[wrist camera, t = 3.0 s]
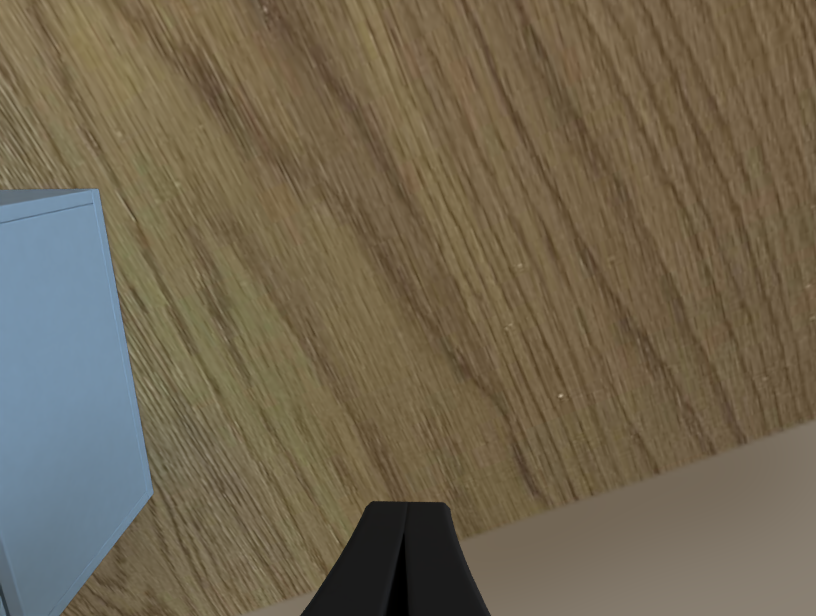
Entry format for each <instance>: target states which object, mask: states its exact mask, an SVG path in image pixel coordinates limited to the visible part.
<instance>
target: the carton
mask: <svg viewBox="0 0 816 616" xmlns="http://www.w3.org/2000/svg"><path fill="white" fill-rule="evenodd" d="M153 493H154V492H153V487H152V481H151V476H150V470H149V465H148V459H147V454H146V448H145V442H144V437H143V431H142V426H141V420H140V415H139V409H138V404H137V398H136V393H135V387H134V382H133V376H132V371H131V365H130V360H129V354H128V349H127V343H126V338H125V332H124V327H123V321H122V316H121V310H120V305H119V299H118V294H117V288H116V283H115V277H114V272H113V266H112V261H111V255H110V250H109V244H108V239H107V233H106V227H105V222H104V216H103V211H102V205H101V200H100V194H99V190H98V189H33V190H0V596H1V599H2V603H3V606H4V609H5V613H6V616H60V614H61V613H62V612H63V610H64V609H65V608H66V607H67V605H68V604H69V603H70V601H71V600H72V599H73V597H74V596H75V595H76V594H77V592H78V591H79V590H80V588H81V587H82V586H83V584H84V583H85V582H86V581H87V579H88V578H89V577H90V575H91V574H92V573H93V571H94V570H95V569H96V568H97V566H98V565H99V564H100V562H101V561H102V560H103V558H104V557H105V556H106V555H107V553H108V552H109V551H110V549H111V548H112V547H113V546H114V544H115V543H116V542H117V540H118V539H119V538H120V536H121V535H122V534H123V533H124V531H125V530H126V529H127V527H128V526H129V525H130V523H131V522H132V521H133V520H134V518H135V517H136V516H137V514H138V513H139V512H140V510H141V509H142V508H143V507H144V505H145V504H146V503H147V501H148V500H149V499H150V497H151V496H152V495H153Z"/></svg>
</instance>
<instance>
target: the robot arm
mask: <svg viewBox="0 0 816 616" xmlns="http://www.w3.org/2000/svg"><path fill="white" fill-rule="evenodd" d="M300 616H491V615H490V613H489V611H488V609H487V607H486V605H485V603H484V601H483V598H482V596H481V594H480V592H479V590H478V588H477V585H476V583H475V581H474V579H473V577H472V575H471V572H470V570H469V567H468V565H467V563H466V560H465V558H464V555H463V552H462V550H461V547H460V544H459V541H458V538H457V535H456V532H455V529H454V525H453V521H452V517H451V511H450V508H449V507H448V506H447V505H446V504H445V503H444V502H387V501H372V502H371V503H370V504H369V505H368V506H366V508H365V510H364V512H363V515H362V517H361V519H360V521H359V523H358V525H357V527H356V529H355V531H354V532H353V534H352V536H351V538H350V540H349V541H348V543H347V545H346V547H345V548H344V550H343V552H342V553H341V555H340V557H339V558H338V560H337V562H336V563H335V565H334V566H333V568H332V569H331V571H330V573H329V574H328V576H327V577H326V579H325V580H324V582H323V583H322V585H321V587H320V588H319V590H318V591H317V593H316V594H315V596H314V597H313V599H312V600H311V602H310V603H309V605H308V606H307V607H306V608H305V610H304V611H303V613H302V614H301V615H300Z"/></svg>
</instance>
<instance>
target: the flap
mask: <svg viewBox="0 0 816 616" xmlns="http://www.w3.org/2000/svg"><path fill="white" fill-rule="evenodd" d="M0 616H6V613H5V609H4V606H3V603H2V599H1V596H0Z"/></svg>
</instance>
